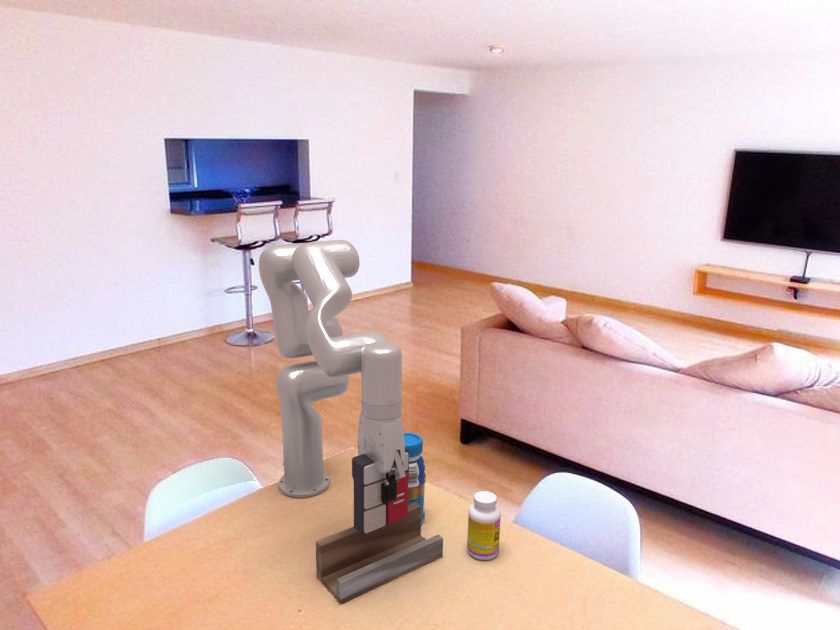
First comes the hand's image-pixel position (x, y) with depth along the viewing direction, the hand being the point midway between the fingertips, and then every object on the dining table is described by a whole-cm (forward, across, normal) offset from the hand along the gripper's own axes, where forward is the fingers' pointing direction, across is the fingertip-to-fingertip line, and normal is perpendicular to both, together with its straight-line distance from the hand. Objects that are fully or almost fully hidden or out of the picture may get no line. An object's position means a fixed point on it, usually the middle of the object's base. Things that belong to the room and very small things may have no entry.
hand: (382, 495), depth 123 cm
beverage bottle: (+16, -11, +14) cm, 24 cm away
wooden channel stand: (+16, 0, 0) cm, 16 cm away
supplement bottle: (+17, +8, +20) cm, 27 cm away
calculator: (+7, -1, 0) cm, 7 cm away
